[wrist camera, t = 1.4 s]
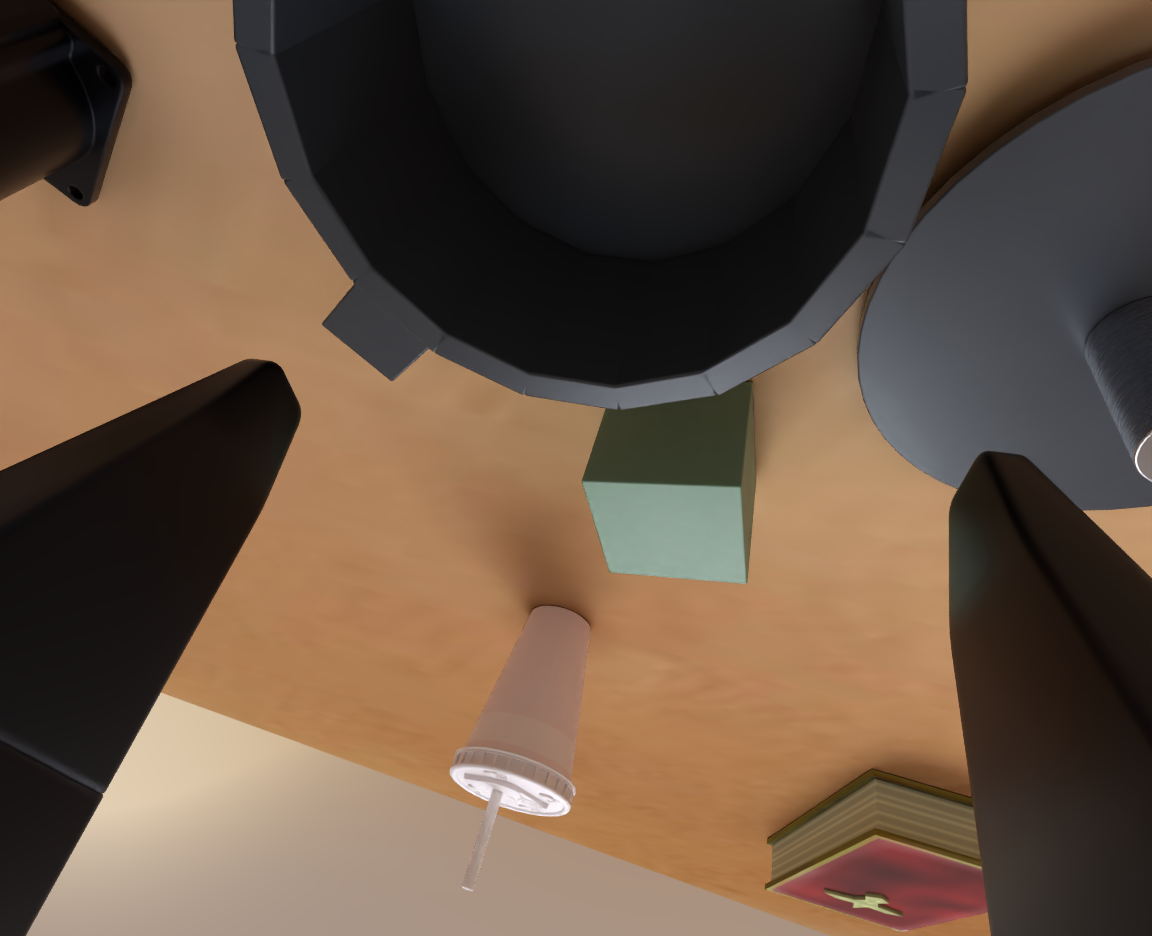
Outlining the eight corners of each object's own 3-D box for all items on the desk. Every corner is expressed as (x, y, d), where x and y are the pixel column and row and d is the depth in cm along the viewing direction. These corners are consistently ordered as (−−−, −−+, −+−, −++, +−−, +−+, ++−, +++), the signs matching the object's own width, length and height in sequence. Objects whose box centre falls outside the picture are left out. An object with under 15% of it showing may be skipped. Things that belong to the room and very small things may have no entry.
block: (634, 476, 27) (609, 573, 24) (613, 383, 24) (580, 481, 20) (756, 480, 25) (747, 584, 22) (752, 380, 22) (741, 487, 19)
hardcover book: (1061, 824, 41) (1078, 901, 38) (902, 880, 56) (906, 937, 54) (871, 769, 42) (875, 839, 39) (767, 839, 57) (764, 893, 55)
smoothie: (527, 578, 35) (425, 861, 26) (630, 623, 36) (567, 914, 27) (496, 622, 40) (401, 874, 31) (588, 661, 41) (522, 919, 32)
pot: (1183, -41, 12) (1369, 54, 8) (567, 376, 24) (514, 504, 20) (835, -1021, 8) (858, -2032, 3) (272, 99, 19) (118, 191, 15)
